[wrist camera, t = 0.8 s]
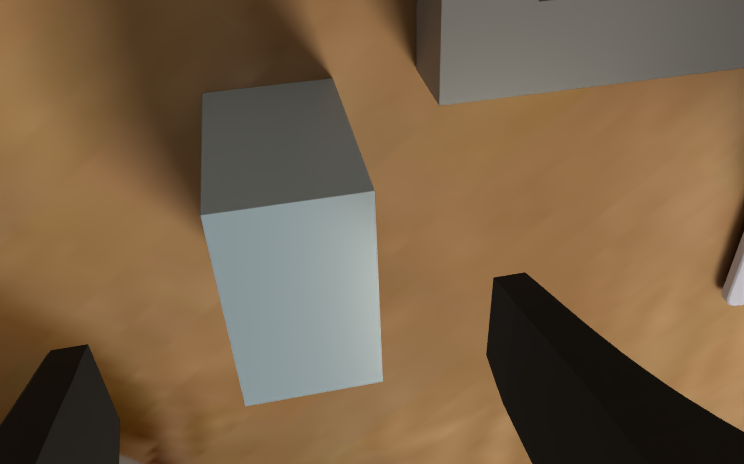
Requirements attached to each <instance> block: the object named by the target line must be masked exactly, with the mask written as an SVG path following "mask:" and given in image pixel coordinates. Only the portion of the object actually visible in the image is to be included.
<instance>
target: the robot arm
mask: <svg viewBox="0 0 744 464" xmlns="http://www.w3.org/2000/svg"><path fill="white" fill-rule="evenodd" d="M722 297H723V299H724V300H725V301H726V302H727V303H728V304H729V305H732V306H738V305H744V233H743V235H742V238H741V241H740V243H739V246H738V249H737V252H736V254H735V257H734V260H733V262H732V265H731V268H730V271H729V273H728V276H727V279H726V281H725V284H724V287H723V290H722ZM486 355H487V358H488V361H489V364H490V367H491V370H492V373H493V376H494V379H495V382H496V385H497V388H498V390H499V393H500V396H501V399H502V402H503V404H504V406H505V408H506V410H507V413H508V415H509V417H510V419H511V421H512V423H513V425H514V427H515V429H516V431H517V433H518V435H519V437H520V439H521V441H522V443H523V446H524V448H525V450H526V452H527V454H528V456H529V458H530V460H531V462H532V464H744V432H743V431H741V430H739V429H738V428H736V427H734V426H732V425H731V424H729V423H727V422H725V421H724V420H722V419H720V418H719V417H717V416H715V415H714V414H712V413H710V412H709V411H707V410H706V409H704V408H702V407H701V406H699V405H697V404H696V403H694V402H693V401H691V400H689V399H688V398H686V397H684V396H683V395H681V394H680V393H678V392H677V391H675V390H674V389H672V388H671V387H669V386H668V385H666V384H665V383H663V382H662V381H661V380H659V379H658V378H656V377H655V376H653V375H652V374H651V373H649V372H648V371H646V370H645V369H644V368H642V367H641V366H639V365H638V364H637V363H635V362H634V361H633V360H631V359H630V358H629V357H627V356H626V355H625V354H623V353H622V352H621V351H619V350H618V349H617V348H616V347H614V346H613V345H612V344H611V343H609V342H608V341H607V340H605V339H604V338H603V337H602V336H600V335H599V334H598V333H597V332H595V331H594V330H593V329H592V328H590V327H589V326H588V325H587V324H586V323H584V322H583V321H582V320H581V319H579V318H578V317H577V316H576V315H575V314H574V313H572V312H571V311H570V310H569V309H568V308H566V307H565V306H564V305H563V304H562V303H561V302H559V301H558V300H557V299H556V298H555V297H554V296H552V295H551V294H550V293H549V292H548V291H546V290H545V289H544V288H543V287H542V286H541V285H539V284H538V283H537V282H536V281H535V280H534V279H532V278H531V277H530V276H529V275H528V274H526V273H519V274H513V275H507V276H501V277H495V278H494V279H493V290H492V300H491V311H490V322H489V332H488V343H487V354H486ZM119 450H120V419H119V417H118V415H117V412H116V410H115V407H114V405H113V403H112V400H111V398H110V396H109V393H108V391H107V388H106V386H105V384H104V381H103V379H102V377H101V374H100V372H99V369H98V367H97V365H96V362H95V360H94V357H93V355H92V353H91V350H90V348H89V346H88V344H87V345H81V346H75V347H69V348H63V349H57V350H51V351H50V352H49V353H48V354H47V356H46V357H45V358H44V360H43V361H42V363H41V364H40V366H39V367H38V369H37V370H36V372H35V374H34V375H33V377H32V378H31V380H30V381H29V383H28V384H27V386H26V387H25V389H24V390H23V392H22V393H21V395H20V396H19V398H18V400H17V401H16V403H15V404H14V406H13V407H12V409H11V410H10V411H9V413H8V414H7V416H6V417H5V419H4V420H3V422H2V423H1V425H0V464H119Z"/></svg>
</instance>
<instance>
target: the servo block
mask: <svg viewBox="0 0 744 464" xmlns="http://www.w3.org/2000/svg"><path fill="white" fill-rule="evenodd" d="M200 216H201V220H202V224H203V229H204V233H205V237H206V241H207V246H208V250H209V254H210V258H211V262H212V267H213V271H214V275H215V279H216V284H217V288H218V292H219V296H220V301H221V305H222V309H223V313H224V318H225V322H226V326H227V330H228V334H229V339H230V343H231V347H232V351H233V356H234V360H235V364H236V368H237V373H238V377H239V381H240V385H241V390H242V394H243V398H244V402H245V406H250V405H256V404H261V403H267V402H272V401H278V400H283V399H289V398H294V397H300V396H305V395H311V394H317V393H322V392H328V391H333V390H339V389H344V388H350V387H355V386H361V385H366V384H372V383H377V382H383V375H382V352H381V329H380V305H379V282H378V259H377V236H376V212H375V191H374V188H373V185H372V183H371V180H370V177H369V175H368V172H367V169H366V166H365V164H364V161H363V158H362V156H361V153H360V150H359V148H358V145H357V142H356V140H355V137H354V134H353V131H352V129H351V126H350V123H349V121H348V118H347V115H346V113H345V110H344V107H343V105H342V102H341V99H340V96H339V94H338V91H337V88H336V86H335V83H334V80H333V78H330V79H321V80H312V81H304V82H295V83H286V84H278V85H269V86H260V87H252V88H243V89H235V90H226V91H217V92H209V93H203V94H202V152H201V210H200Z"/></svg>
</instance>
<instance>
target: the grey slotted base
mask: <svg viewBox="0 0 744 464" xmlns="http://www.w3.org/2000/svg"><path fill="white" fill-rule="evenodd" d="M739 68H744V0H417V1H416V69H417V71H418V73H419V74H420V76H421V77H422V79H423V81H424V82H425V84H426V85H427V87H428V89H429V90H430V92H431V93H432V95H433V96H434V98H435V100H436V101H437V103H438V104H439V106H440V105H448V104H456V103H464V102H473V101H481V100H489V99H497V98H505V97H513V96H521V95H529V94H537V93H545V92H553V91H561V90H569V89H578V88H586V87H594V86H602V85H610V84H618V83H626V82H634V81H642V80H650V79H658V78H666V77H674V76H683V75H691V74H699V73H707V72H715V71H723V70H731V69H739Z"/></svg>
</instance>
